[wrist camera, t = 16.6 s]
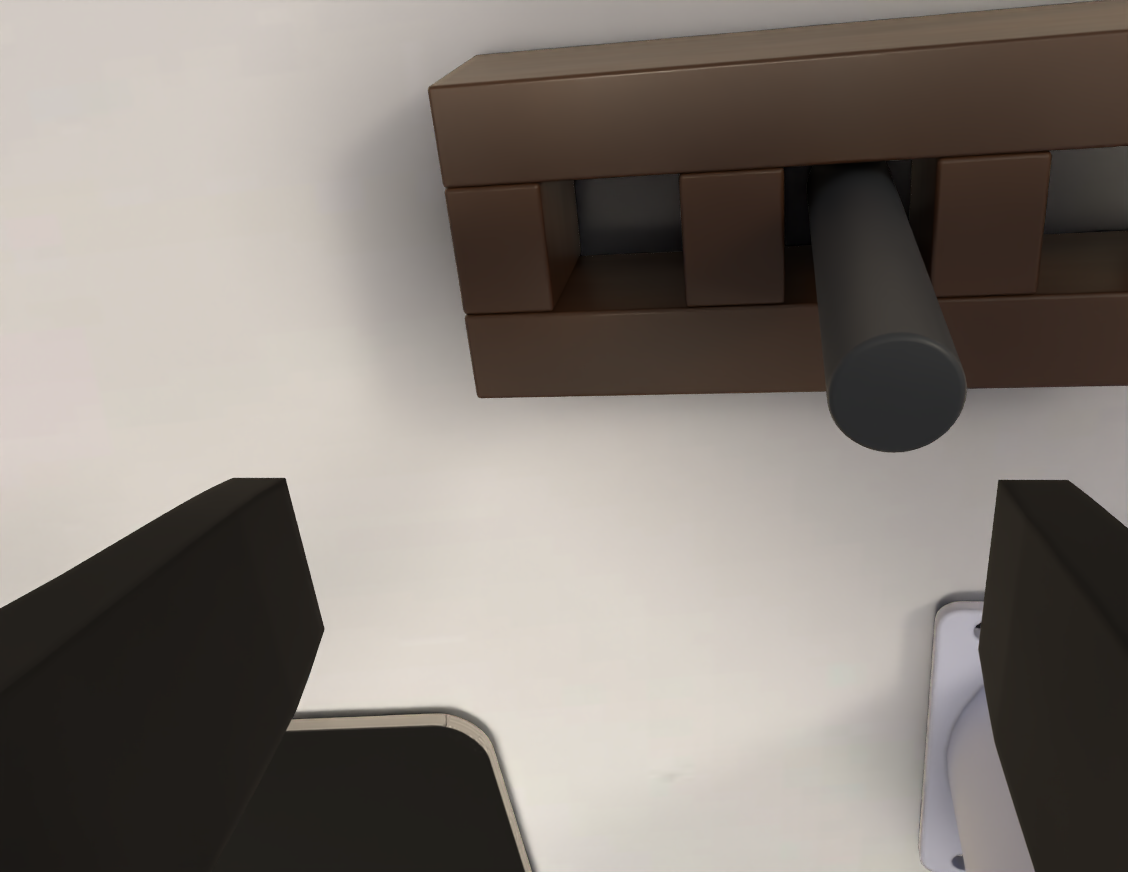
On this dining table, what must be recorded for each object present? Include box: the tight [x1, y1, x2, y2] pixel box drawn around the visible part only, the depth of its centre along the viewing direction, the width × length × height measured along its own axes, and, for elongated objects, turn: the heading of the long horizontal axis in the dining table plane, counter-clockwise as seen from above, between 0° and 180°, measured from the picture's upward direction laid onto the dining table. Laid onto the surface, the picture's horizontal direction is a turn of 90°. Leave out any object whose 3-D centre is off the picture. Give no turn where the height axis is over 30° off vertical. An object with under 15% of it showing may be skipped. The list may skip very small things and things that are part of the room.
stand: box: [428, 0, 1128, 398], centre depth 18 cm, size 5×13×3 cm, turn 96°
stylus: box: [806, 161, 967, 453], centre depth 15 cm, size 1×1×9 cm
